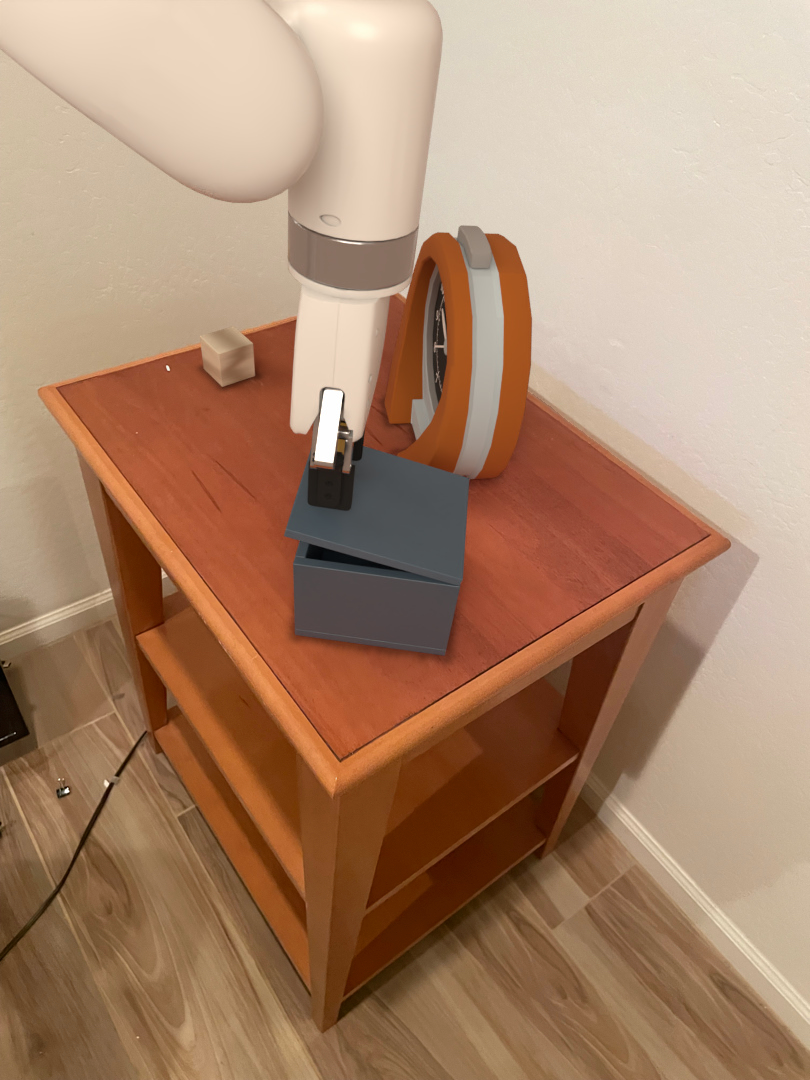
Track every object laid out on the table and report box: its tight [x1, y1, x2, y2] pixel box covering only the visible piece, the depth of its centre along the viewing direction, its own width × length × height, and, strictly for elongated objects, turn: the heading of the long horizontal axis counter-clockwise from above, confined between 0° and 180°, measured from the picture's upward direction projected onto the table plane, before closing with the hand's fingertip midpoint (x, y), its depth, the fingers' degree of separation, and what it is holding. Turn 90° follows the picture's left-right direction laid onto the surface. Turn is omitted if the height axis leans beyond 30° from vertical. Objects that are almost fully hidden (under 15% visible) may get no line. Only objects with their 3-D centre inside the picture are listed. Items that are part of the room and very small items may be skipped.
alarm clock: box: [383, 224, 533, 480], centre depth 73 cm, size 22×10×23 cm, turn 9°
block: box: [199, 326, 256, 388], centre depth 85 cm, size 4×4×4 cm
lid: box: [283, 423, 470, 587], centre depth 56 cm, size 13×12×5 cm
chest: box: [292, 540, 461, 657], centre depth 62 cm, size 13×12×9 cm
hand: (336, 478), depth 56 cm, fingers closed on lid, 5 cm apart
